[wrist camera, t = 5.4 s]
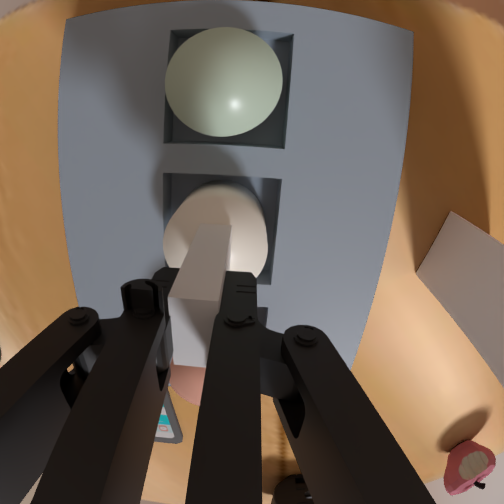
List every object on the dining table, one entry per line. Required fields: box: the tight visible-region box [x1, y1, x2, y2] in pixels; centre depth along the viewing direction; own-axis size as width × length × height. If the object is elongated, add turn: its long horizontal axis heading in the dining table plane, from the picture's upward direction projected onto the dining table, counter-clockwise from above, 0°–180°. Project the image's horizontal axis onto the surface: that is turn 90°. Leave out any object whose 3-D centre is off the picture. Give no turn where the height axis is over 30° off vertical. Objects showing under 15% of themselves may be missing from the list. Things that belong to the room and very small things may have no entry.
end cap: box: [271, 474, 314, 504], centre depth 36 cm, size 10×7×7 cm
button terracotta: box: [169, 357, 206, 406], centre depth 20 cm, size 5×5×4 cm
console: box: [58, 0, 414, 386], centre depth 20 cm, size 20×26×4 cm
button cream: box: [163, 180, 268, 278], centre depth 18 cm, size 5×5×4 cm
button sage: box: [165, 27, 283, 137], centre depth 14 cm, size 5×5×4 cm
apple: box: [444, 440, 496, 495], centre depth 33 cm, size 10×9×10 cm
